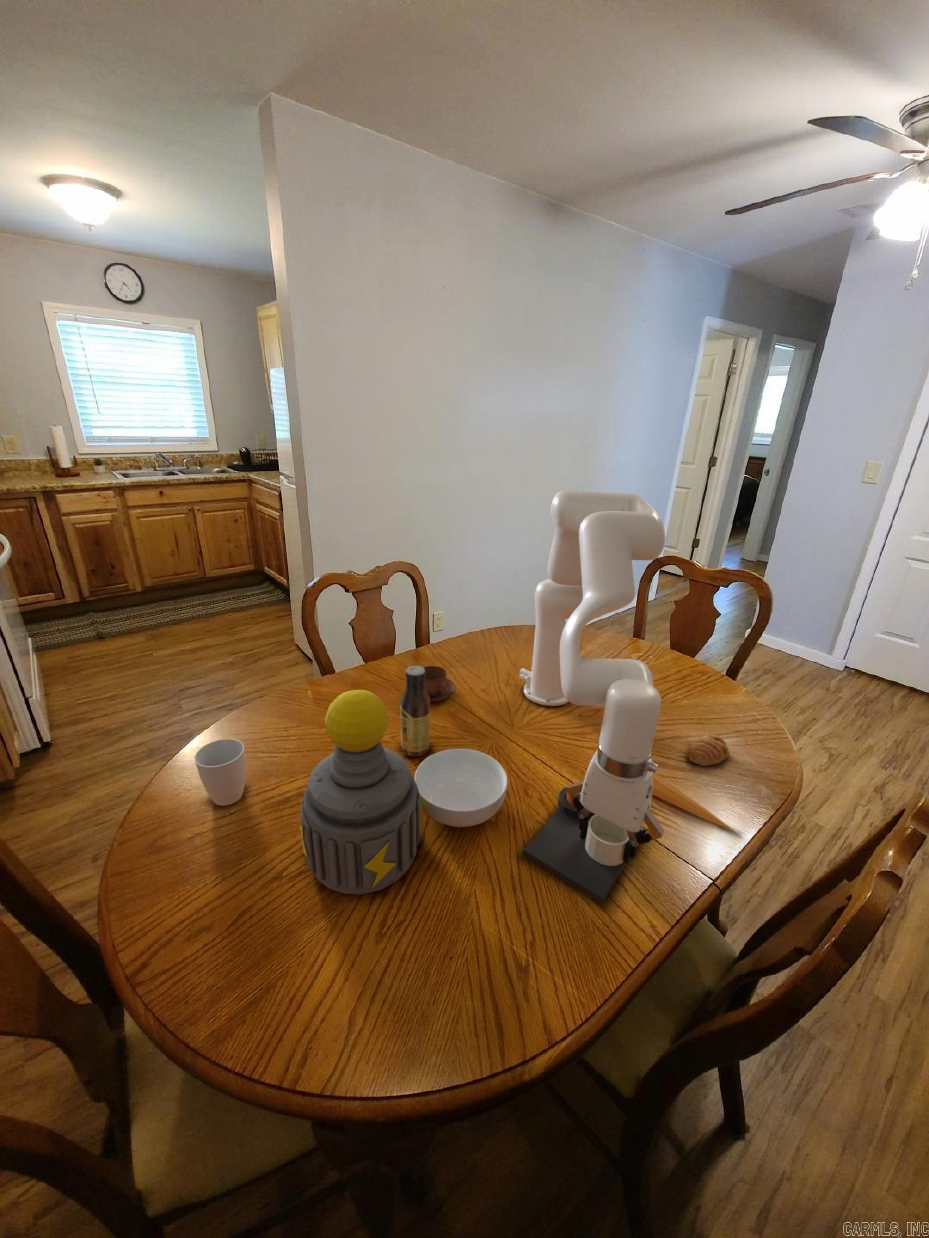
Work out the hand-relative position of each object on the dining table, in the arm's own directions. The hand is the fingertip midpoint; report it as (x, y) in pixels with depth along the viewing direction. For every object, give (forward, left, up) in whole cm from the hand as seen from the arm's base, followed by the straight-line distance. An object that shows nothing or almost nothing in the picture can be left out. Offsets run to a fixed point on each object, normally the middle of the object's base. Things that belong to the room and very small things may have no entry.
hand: (606, 844), depth 83 cm
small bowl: (0, 0, -1) cm, 1 cm away
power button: (-9, +6, 0) cm, 10 cm away
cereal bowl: (-26, -7, -3) cm, 27 cm away
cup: (-61, -33, -3) cm, 69 cm away
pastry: (+6, +40, -3) cm, 41 cm away
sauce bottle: (-44, 0, -3) cm, 44 cm away
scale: (-4, 0, -2) cm, 4 cm away
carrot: (+6, +20, -3) cm, 21 cm away
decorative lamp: (-32, -25, -3) cm, 40 cm away
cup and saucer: (-57, +20, -3) cm, 60 cm away
